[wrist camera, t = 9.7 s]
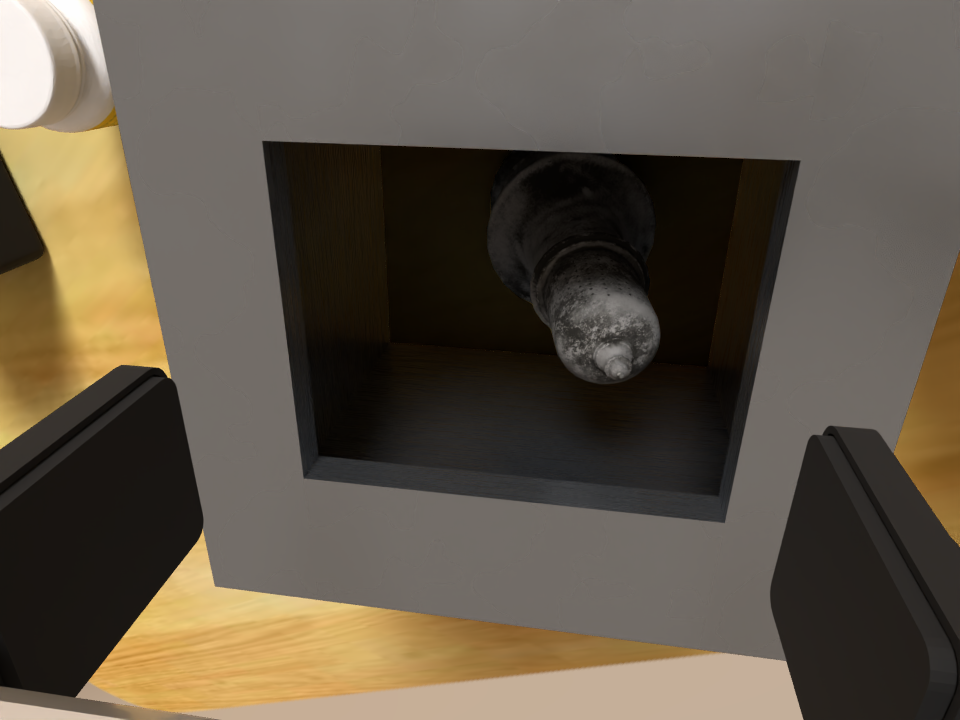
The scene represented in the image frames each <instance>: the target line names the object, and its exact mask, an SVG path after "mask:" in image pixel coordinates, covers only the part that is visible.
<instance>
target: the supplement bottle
mask: <svg viewBox="0 0 960 720" xmlns="http://www.w3.org/2000/svg"><path fill="white" fill-rule="evenodd" d="M115 125H118V120H117V115H116V110H115V105H114V101H113V96H112V91H111V86H110V82H109V77H108V72H107V67H106V62H105V58H104V53H103V48H102V43H101V38H100V34H99V29H98V24H97V19H96V15H95V10H94V5H93V0H0V127H1V128H5V129H24V128H32V127H38V126H41V127H44V128H47V129H50V130H54V131H58V132H69V133H77V132H83V131H89V130H94V129H99V128H104V127H109V126H115Z"/></svg>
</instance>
